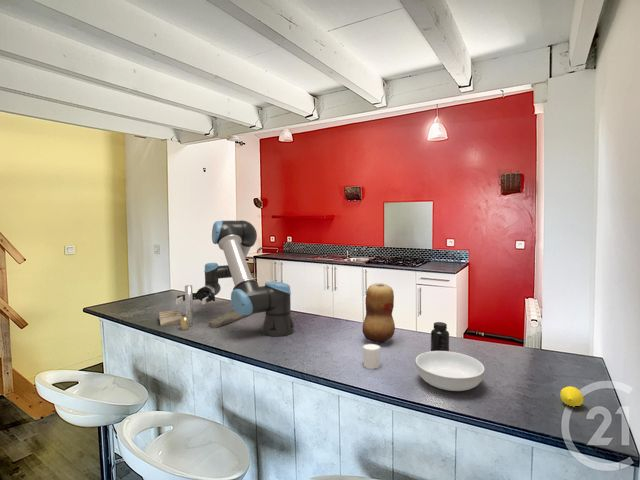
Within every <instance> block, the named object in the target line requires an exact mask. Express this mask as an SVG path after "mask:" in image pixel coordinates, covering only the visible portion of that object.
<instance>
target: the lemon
mask: <svg viewBox="0 0 640 480" xmlns="http://www.w3.org/2000/svg"><path fill="white" fill-rule="evenodd" d="M559 396H560V399H561V401H562V402H563V403H564V404H565V405H566V404H568V405H569V406H568V405H567V406H568V407H570V406H579V407H580V406H581V405H583V403H584V401H585V399H584V397H583V392H582V391H580V390H579V389H578V388H577V387H575V386H570V385H569V386H566V387H563V388H562V389H561V390H560V395H559Z"/></svg>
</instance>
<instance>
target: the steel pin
mask: <svg viewBox="0 0 640 480" xmlns="http://www.w3.org/2000/svg"><path fill="white" fill-rule="evenodd" d="M192 293H193V285H192V284H188V285H185V286H184V294H185V301H184V303H185V304H184V305H185V306H184V307H185V308H184V309H185V316H188V325H189V327H193V326H194V307H193V306H194V303H193V301H194V300H193V296H192Z"/></svg>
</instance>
